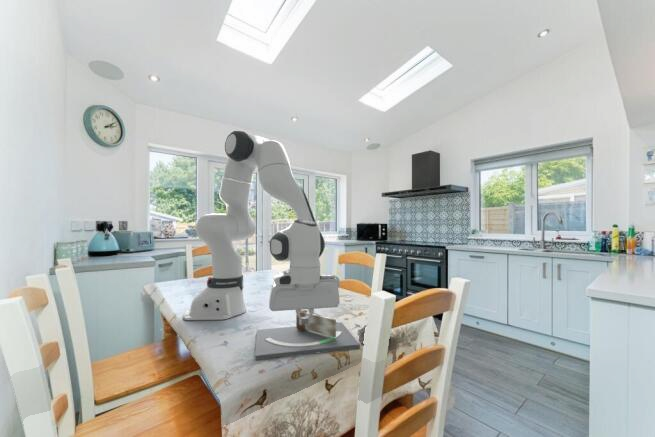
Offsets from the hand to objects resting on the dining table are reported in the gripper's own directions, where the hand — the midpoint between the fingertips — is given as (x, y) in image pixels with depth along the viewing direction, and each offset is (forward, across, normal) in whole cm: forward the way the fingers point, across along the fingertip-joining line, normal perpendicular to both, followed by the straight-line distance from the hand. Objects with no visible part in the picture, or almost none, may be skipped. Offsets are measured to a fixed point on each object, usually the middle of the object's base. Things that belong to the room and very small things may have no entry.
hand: (304, 323), depth 79 cm
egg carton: (+6, -21, +2) cm, 22 cm away
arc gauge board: (+6, -1, -3) cm, 6 cm away
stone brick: (+4, -4, -4) cm, 7 cm away
